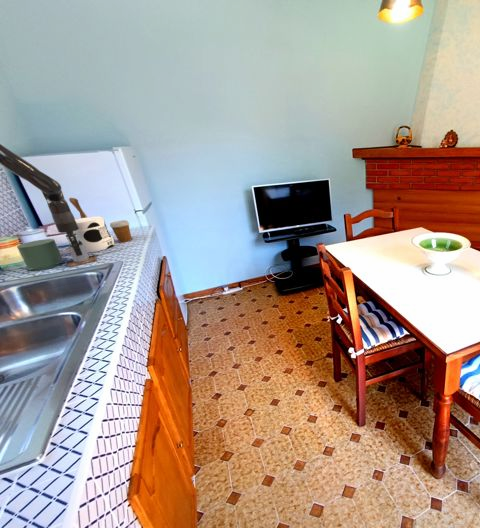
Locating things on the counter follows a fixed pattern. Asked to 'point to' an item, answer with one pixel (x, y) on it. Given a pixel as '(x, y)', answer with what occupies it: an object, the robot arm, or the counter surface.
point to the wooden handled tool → (77, 207)
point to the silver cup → (82, 257)
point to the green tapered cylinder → (40, 254)
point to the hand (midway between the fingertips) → (79, 253)
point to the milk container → (93, 234)
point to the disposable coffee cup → (121, 230)
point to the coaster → (72, 264)
